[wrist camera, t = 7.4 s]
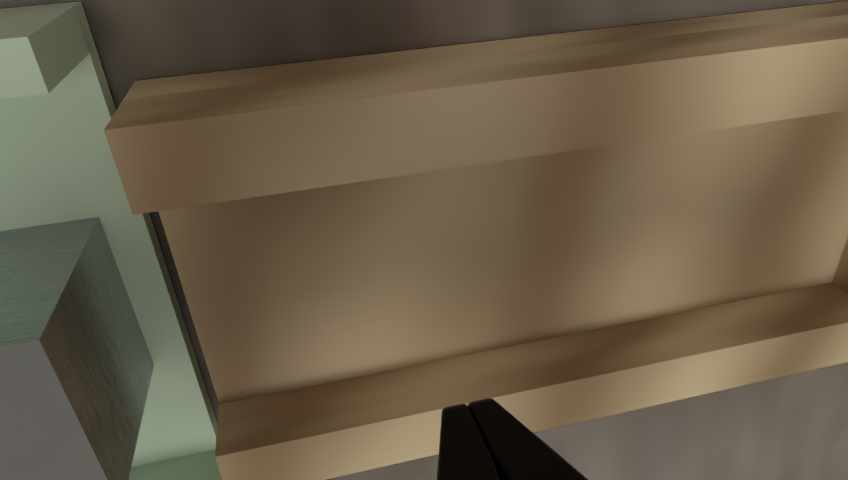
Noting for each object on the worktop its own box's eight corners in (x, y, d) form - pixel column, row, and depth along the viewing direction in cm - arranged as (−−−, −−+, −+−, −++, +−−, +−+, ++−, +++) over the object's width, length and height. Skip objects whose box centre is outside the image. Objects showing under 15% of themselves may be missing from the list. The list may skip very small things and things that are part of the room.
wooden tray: (917, -8, 15) (1041, 13, 12) (815, 294, 19) (892, 351, 17) (134, 80, 12) (103, 130, 10) (234, 412, 16) (229, 501, 14)
